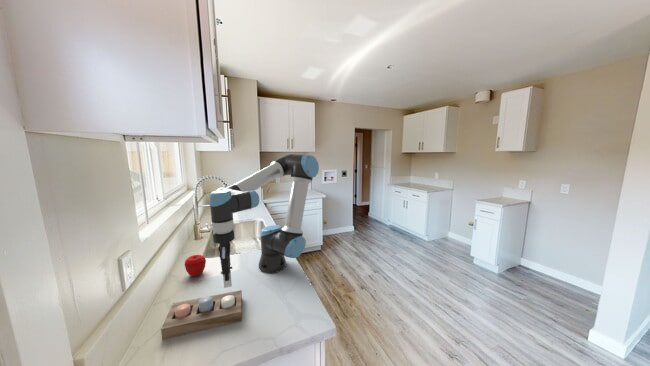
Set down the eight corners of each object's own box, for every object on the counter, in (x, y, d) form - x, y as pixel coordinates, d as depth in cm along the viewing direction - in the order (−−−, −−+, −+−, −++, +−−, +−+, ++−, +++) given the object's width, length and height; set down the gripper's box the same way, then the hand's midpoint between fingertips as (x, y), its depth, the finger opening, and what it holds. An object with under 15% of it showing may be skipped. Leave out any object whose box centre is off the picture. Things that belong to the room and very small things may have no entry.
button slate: (200, 309, 90) (199, 297, 89) (214, 306, 92) (213, 295, 91) (198, 317, 86) (197, 305, 85) (212, 314, 87) (211, 303, 86)
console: (174, 311, 91) (173, 303, 91) (241, 298, 100) (241, 290, 99) (162, 339, 78) (160, 329, 78) (241, 320, 87) (240, 311, 86)
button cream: (222, 307, 93) (221, 296, 92) (235, 304, 95) (234, 294, 94) (221, 316, 88) (220, 304, 88) (234, 313, 90) (234, 301, 89)
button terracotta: (177, 316, 88) (176, 305, 87) (192, 313, 89) (191, 302, 89) (174, 326, 83) (172, 314, 82) (189, 322, 85) (188, 311, 84)
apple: (210, 272, 120) (209, 253, 119) (193, 281, 112) (191, 261, 110) (199, 267, 125) (197, 249, 123) (181, 276, 116) (179, 256, 115)
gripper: (214, 226, 91) (219, 279, 95) (210, 238, 79) (215, 298, 83) (234, 223, 94) (238, 275, 98) (232, 235, 81) (237, 294, 85)
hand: (228, 286), depth 90 cm, fingers closed
